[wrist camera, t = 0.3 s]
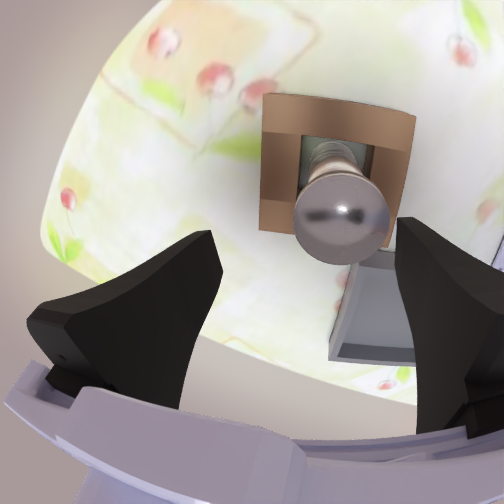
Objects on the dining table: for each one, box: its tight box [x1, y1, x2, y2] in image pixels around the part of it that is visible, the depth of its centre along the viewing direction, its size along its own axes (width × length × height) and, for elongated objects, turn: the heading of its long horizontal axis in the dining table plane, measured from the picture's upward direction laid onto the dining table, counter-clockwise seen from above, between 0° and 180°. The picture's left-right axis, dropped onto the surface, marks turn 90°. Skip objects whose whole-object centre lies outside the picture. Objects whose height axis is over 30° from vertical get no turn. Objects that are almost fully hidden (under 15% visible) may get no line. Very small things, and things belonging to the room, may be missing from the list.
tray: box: [328, 250, 416, 367], centre depth 23 cm, size 11×11×2 cm
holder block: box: [259, 93, 416, 248], centre depth 17 cm, size 9×9×2 cm
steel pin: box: [293, 141, 390, 265], centre depth 15 cm, size 4×4×9 cm
